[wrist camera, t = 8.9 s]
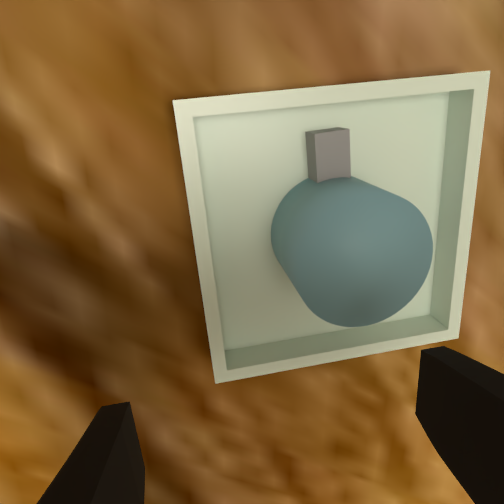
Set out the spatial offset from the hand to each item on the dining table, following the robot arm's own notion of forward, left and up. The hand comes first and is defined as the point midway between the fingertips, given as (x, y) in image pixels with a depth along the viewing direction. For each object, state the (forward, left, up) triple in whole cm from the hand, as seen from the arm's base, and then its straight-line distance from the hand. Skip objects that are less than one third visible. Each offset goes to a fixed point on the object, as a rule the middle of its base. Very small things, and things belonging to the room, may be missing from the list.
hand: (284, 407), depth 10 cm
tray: (+1, -4, -9) cm, 10 cm away
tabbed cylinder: (+1, -4, -9) cm, 10 cm away
